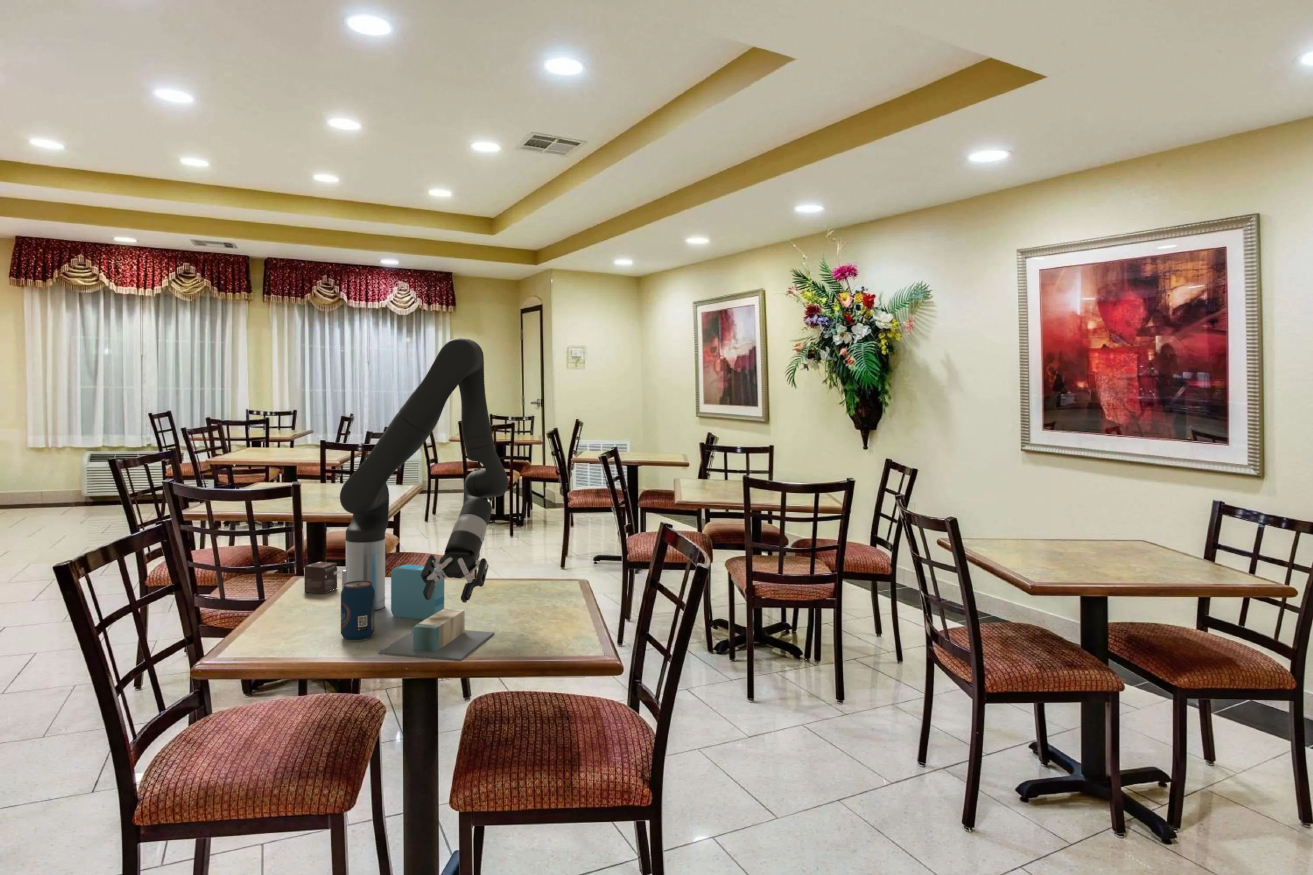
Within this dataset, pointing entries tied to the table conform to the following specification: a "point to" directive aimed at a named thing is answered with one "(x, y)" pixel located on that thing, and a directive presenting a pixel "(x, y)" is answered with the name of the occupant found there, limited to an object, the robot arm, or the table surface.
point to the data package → (414, 594)
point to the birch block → (438, 630)
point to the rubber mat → (449, 652)
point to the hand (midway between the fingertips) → (445, 599)
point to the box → (320, 577)
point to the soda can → (357, 610)
